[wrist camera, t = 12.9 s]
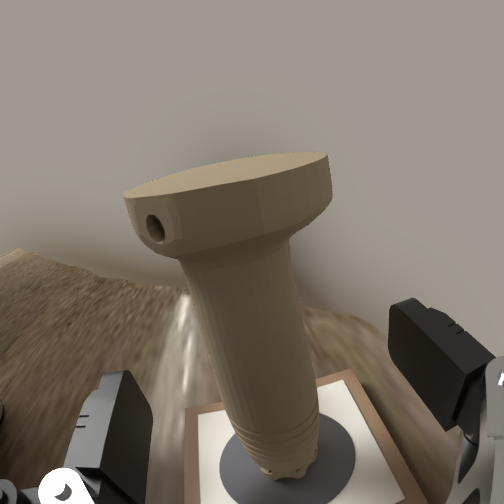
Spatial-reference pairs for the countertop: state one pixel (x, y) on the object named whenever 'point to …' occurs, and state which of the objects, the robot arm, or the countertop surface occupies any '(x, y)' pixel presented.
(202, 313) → the handle
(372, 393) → the countertop surface
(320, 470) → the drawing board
